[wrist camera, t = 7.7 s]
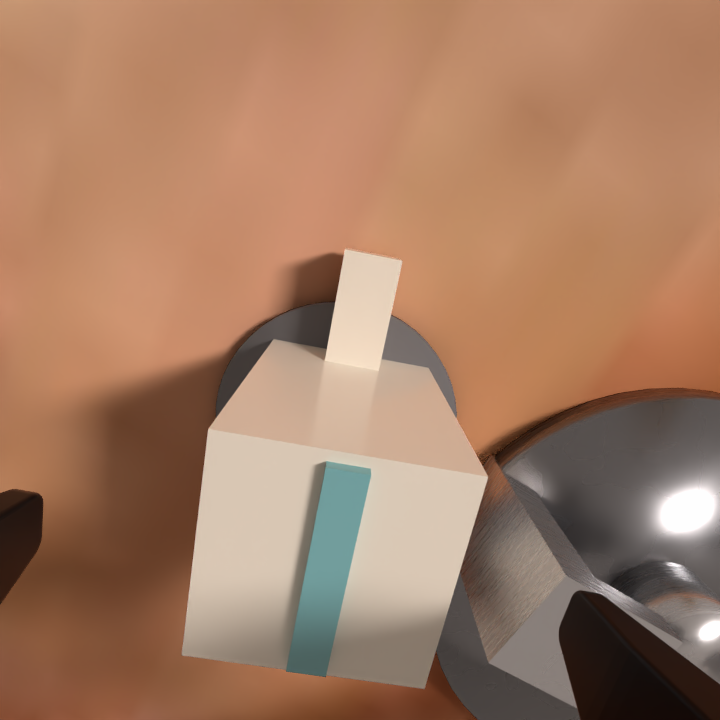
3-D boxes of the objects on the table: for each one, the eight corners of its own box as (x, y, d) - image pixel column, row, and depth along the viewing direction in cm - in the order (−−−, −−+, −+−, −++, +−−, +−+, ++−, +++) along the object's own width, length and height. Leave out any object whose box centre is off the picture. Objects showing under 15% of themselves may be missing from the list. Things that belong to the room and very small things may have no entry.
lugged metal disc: (348, 637, 16) (346, 822, 11) (612, 298, 13) (775, 340, 8) (648, 786, 18) (759, 996, 13) (935, 526, 15) (1221, 671, 10)
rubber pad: (389, 256, 13) (390, 257, 12) (490, 461, 14) (494, 468, 14) (173, 371, 13) (167, 375, 13) (293, 552, 15) (291, 561, 15)
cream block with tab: (288, 235, 12) (225, 241, 6) (452, 269, 12) (546, 305, 6) (241, 556, 15) (164, 781, 9) (377, 577, 15) (392, 808, 9)
